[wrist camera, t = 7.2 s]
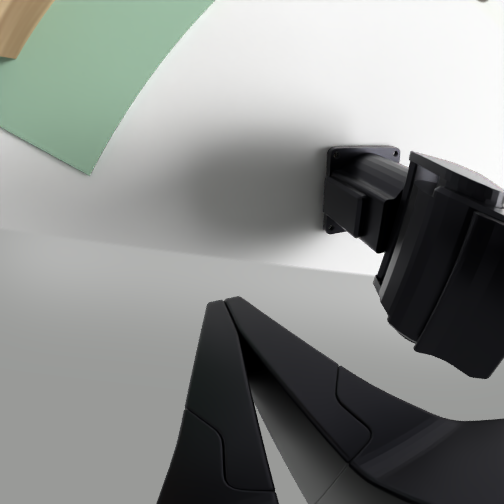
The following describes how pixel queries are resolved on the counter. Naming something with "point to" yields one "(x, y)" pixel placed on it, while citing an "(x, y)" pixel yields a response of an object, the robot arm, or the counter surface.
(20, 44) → the bookend
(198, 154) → the counter surface
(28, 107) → the mat
